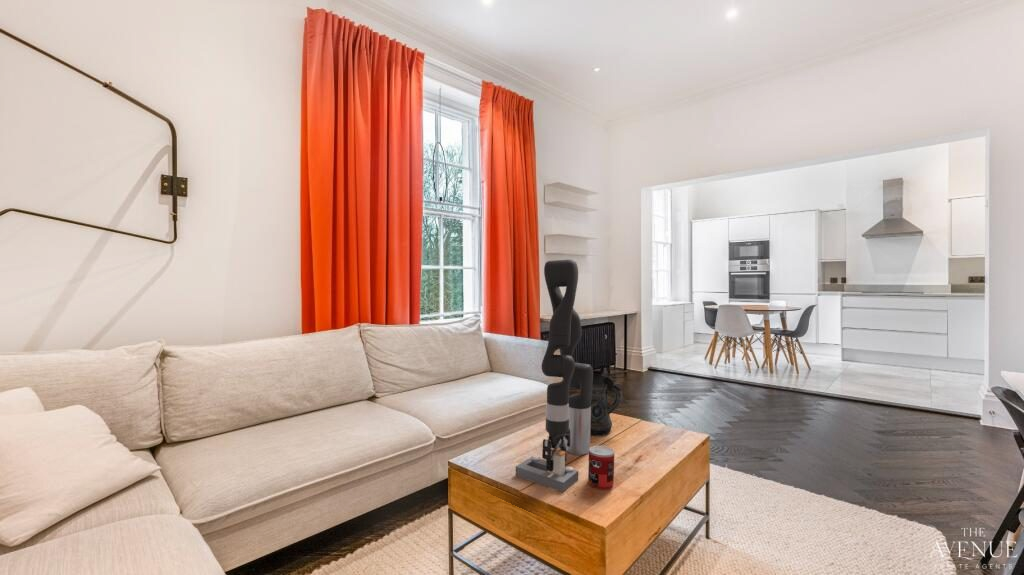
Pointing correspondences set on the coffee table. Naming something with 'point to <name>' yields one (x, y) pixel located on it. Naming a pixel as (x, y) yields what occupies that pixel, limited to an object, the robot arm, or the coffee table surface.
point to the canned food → (601, 467)
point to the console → (546, 474)
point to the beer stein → (602, 403)
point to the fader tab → (559, 463)
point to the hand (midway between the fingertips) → (556, 465)
